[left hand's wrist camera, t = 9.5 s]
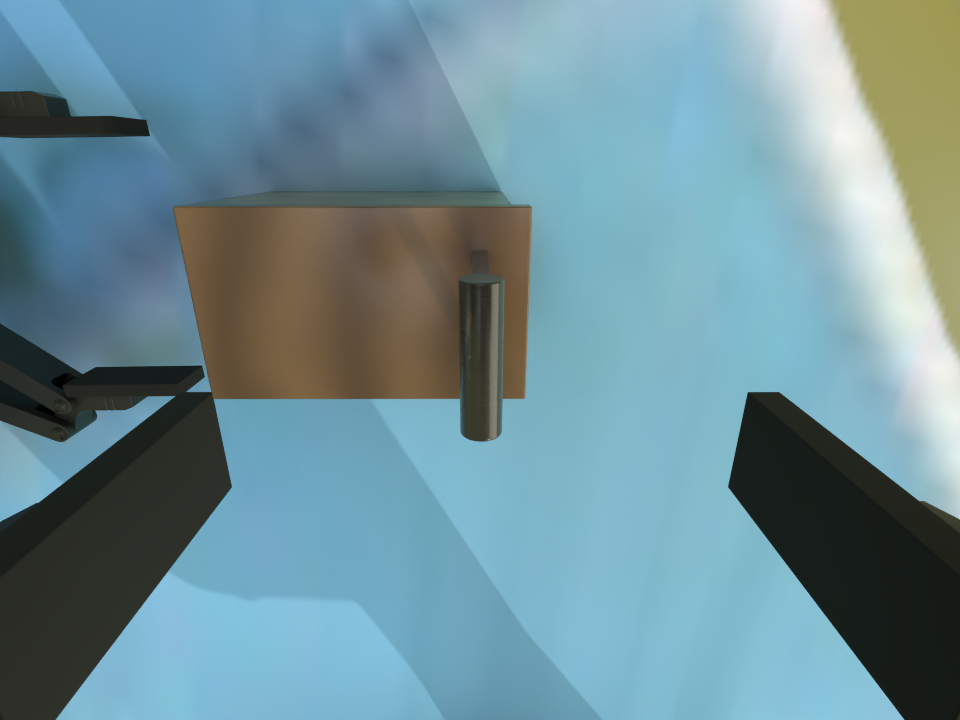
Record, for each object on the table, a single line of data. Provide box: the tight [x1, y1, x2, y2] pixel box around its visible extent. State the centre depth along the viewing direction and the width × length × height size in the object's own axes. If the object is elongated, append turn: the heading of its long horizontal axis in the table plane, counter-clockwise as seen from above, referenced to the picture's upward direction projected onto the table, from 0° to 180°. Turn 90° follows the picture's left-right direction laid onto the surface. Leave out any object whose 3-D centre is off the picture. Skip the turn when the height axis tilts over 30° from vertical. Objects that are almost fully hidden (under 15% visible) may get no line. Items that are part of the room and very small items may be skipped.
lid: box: [173, 205, 532, 441], centre depth 21 cm, size 16×9×8 cm, turn 90°
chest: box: [188, 192, 511, 205], centre depth 30 cm, size 15×9×10 cm, turn 90°
